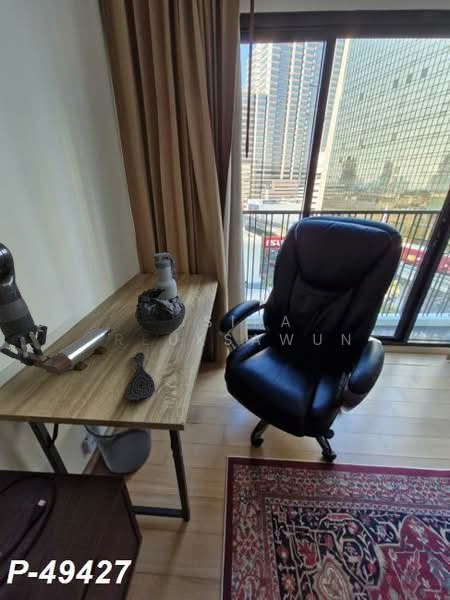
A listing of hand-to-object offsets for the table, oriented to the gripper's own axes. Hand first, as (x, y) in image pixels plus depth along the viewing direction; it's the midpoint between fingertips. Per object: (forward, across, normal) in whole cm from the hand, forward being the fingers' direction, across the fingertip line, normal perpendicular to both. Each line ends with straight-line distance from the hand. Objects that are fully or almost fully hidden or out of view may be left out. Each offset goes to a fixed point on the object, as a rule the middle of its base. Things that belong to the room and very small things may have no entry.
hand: (35, 362), depth 78 cm
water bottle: (+8, -55, +13) cm, 57 cm away
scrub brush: (0, 0, +4) cm, 4 cm away
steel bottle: (+8, -15, +4) cm, 17 cm away
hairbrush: (+8, -12, +29) cm, 32 cm away
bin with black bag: (+8, -38, +21) cm, 44 cm away
